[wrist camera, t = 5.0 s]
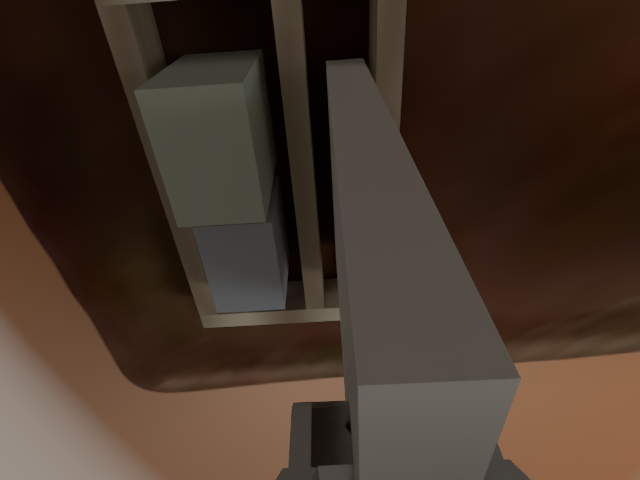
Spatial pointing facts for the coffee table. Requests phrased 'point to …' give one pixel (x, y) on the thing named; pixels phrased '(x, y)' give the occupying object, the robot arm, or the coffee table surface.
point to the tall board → (406, 306)
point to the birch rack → (387, 72)
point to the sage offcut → (212, 136)
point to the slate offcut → (247, 260)
